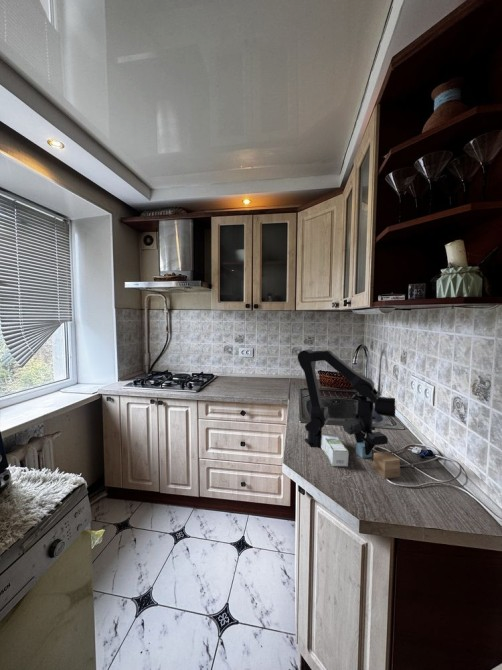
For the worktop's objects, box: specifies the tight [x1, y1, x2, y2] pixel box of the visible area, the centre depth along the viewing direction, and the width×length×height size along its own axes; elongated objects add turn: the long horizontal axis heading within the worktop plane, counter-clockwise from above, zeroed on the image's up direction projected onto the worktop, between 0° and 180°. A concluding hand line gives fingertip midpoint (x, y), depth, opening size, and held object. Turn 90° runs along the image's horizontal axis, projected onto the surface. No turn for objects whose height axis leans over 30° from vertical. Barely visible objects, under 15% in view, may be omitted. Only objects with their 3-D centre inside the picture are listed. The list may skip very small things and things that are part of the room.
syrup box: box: [320, 433, 349, 467], centre depth 99 cm, size 6×6×14 cm
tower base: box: [371, 460, 402, 480], centre depth 89 cm, size 6×6×3 cm
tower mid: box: [373, 451, 401, 470], centre depth 89 cm, size 6×6×3 cm
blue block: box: [355, 442, 373, 459], centre depth 101 cm, size 4×4×4 cm
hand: (363, 452), depth 101 cm, fingers closed on blue block, 4 cm apart
